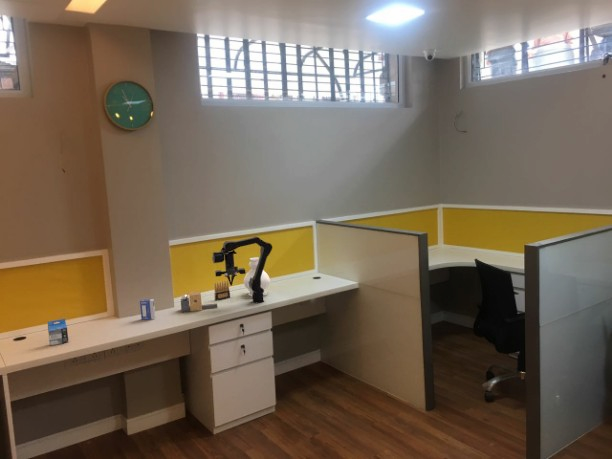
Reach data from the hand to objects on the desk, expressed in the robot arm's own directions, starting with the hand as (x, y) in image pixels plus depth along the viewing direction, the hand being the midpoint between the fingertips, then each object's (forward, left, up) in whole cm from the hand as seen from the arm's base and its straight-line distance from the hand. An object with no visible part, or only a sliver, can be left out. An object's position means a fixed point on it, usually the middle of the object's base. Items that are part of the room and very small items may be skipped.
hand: (231, 285), depth 338 cm
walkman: (+51, +10, -13) cm, 54 cm away
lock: (+23, 0, -13) cm, 26 cm away
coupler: (+21, 0, -13) cm, 24 cm away
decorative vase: (-19, -22, -13) cm, 32 cm away
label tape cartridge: (+95, +38, -13) cm, 103 cm away
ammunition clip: (+5, -19, -13) cm, 24 cm away
